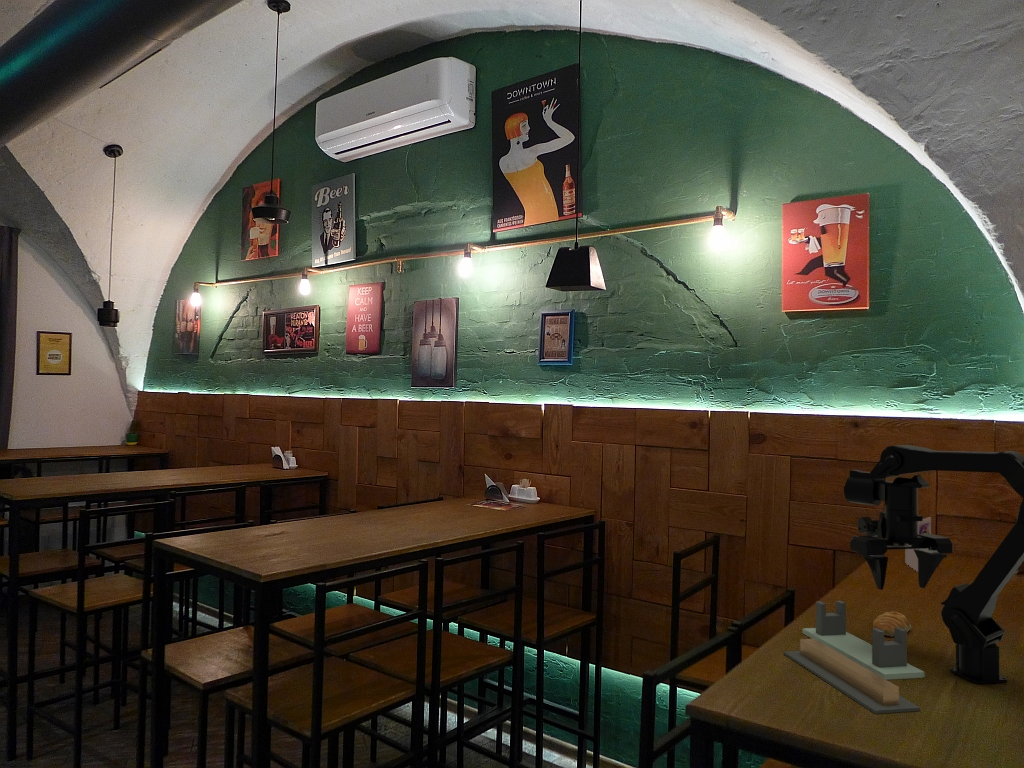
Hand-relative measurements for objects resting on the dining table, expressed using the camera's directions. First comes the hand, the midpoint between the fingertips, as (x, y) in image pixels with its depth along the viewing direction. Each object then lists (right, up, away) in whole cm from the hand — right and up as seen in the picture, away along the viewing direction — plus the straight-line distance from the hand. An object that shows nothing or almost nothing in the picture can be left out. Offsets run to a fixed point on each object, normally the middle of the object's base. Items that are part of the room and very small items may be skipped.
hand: (901, 588), depth 142 cm
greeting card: (+45, -15, +76) cm, 90 cm away
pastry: (+6, -14, +15) cm, 21 cm away
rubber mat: (-17, -13, -13) cm, 25 cm away
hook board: (-8, -13, 0) cm, 15 cm away
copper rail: (-17, -12, -13) cm, 25 cm away
